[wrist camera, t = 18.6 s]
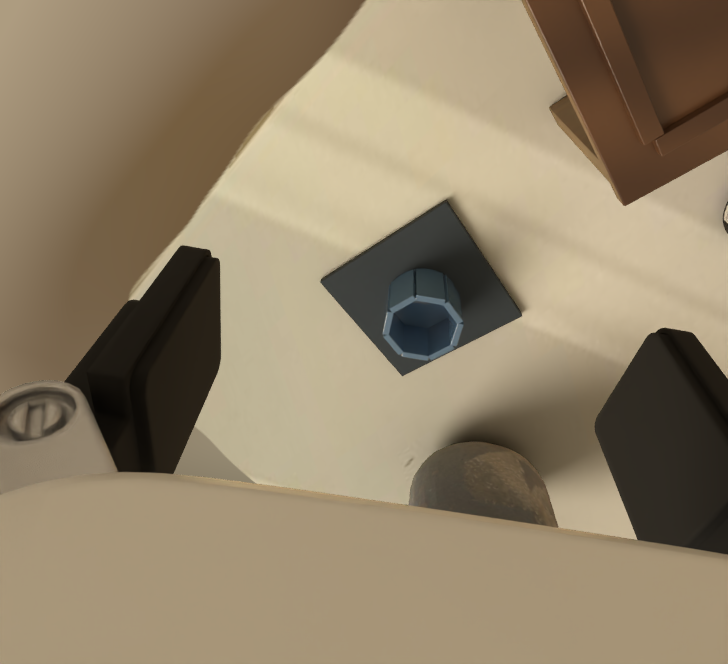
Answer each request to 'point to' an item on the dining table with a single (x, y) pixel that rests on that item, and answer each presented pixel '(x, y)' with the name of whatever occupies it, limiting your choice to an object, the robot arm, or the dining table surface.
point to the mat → (423, 251)
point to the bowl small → (422, 314)
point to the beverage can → (725, 218)
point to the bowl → (483, 484)
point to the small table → (639, 84)
